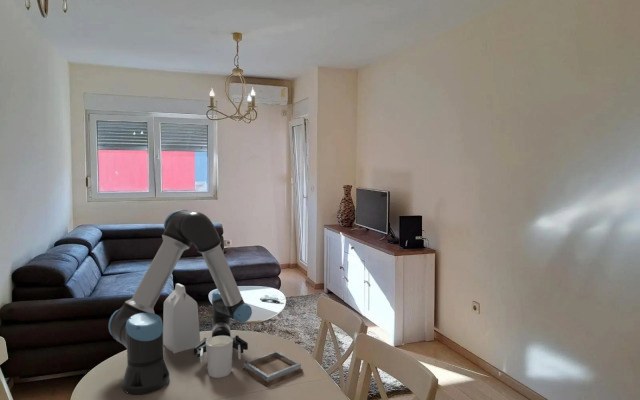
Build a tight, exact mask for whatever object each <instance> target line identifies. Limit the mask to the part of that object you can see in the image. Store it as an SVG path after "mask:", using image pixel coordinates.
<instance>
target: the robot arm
mask: <svg viewBox="0 0 640 400" xmlns="http://www.w3.org/2000/svg"><path fill="white" fill-rule="evenodd" d="M163 227H164V231H163V233H162V235H161V237H162V243H161V245H160V246H159V248H158V250H157V252H156V254H155V256H154V258H153V259H152V261H151V263H150V265H149V266H148V269H147V270H146V272H145V274H144V275H143V277H142V279H141V281H140V282H139V285H138V287H137V288H136V290H135V292H134V293H133V296H132V298H130V299H128V300H125V301H124V303H123V304H122V306H121V307H120V308H119V309H117V310H115V311H114V312H113V313H112V314H111V316H110V318H109V321H108V332H109V334H110V335H111V336H112V338H113V339H114V340H115V341H116V342H118V343H120V344H122V345H123V346H124V347H125V348H126V355H127V356H126V359H127V366H126V369H125V373H124V375H123V379H122V390H123V389H124V390H123V391H124V392H125V391H126V392H125V393H127V392H128V393H127V394H129V393H131V394H130V395H144V394H150V393H153V392H156V391H158V390H161V389H163V388H164V387H165V386H167V385H168V384H169V382H170V371H169V369H168V366H167V363H166V362H165V359H164V345H163V320H162V319H163V318H162V317H161V316H160V315H158V314H156V313H155V310H154V307H155V306H156V303H157V301H158V300H159V298H160V296H161V294H162V292H163V290H164V289H165V287H166V284H167V283H168V281H169V279H170V277H171V275H172V274H173V272H174V269H175V267H176V265H177V264H178V262H179V260H180V258H181V256H182V254H183V253H184V251H187V250H189V249H190V248H191V246H192V245H194V247H195V249H196V251H197V253H200V254H201V255H202V258H203V259H204V262H205V264H206V266H207V268H208V270H209V271H208V272H209V273H210V275H211V277H212V280H213V281H214V284H215V287H216V289H217V290H215V291H213V292H212V295H211V297H212V299H211V306H212V312H211V313H212V331H211V337H215V336H229V337H231V338H233V349H235V350H237V353H238V360H241V359H242V357H241V356H242V354H244V351H247V350H249V348H248V347H249V345H248V344H249V343H248V342H247V341H245V340H244V339H242V338H241V337H240V336H239V335H237V334H235V336H234V337H232V336H231V335H232V333H231V320H233V321H235V322H238V323H246V322H248V321H249V320H250V318H251V317H252V313H253V309H252V307H251V305H249V304H248V303H245V301H244V299H243V296H242V294H241V291H240V290H239V287H238V285H237V282H236V280H235V278H234V275H233V273H232V270H231V268H230V266H229V264H228V260H227V259H226V256H225V253H224V251H223V249H222V247H221V244H222V240H221V237H220V235H219V233H218V231H217V229H216V227H215V225H214V224H213V222H212V220H211V219H210V217H208V216H207V215H206V214H204V213H203V212H199V211H192V210H188V209H179V210H174V211H173V212H171V213H170V214H168V215H167V217H166V218H165V221H164V223H163ZM206 340H208V339H207V338H206V337H203V339H202V340H200V343H199V344H197V345H196V346H195V347H193V348H192V350H193V351H192V352H193V353H192V354H193V355H195V356H196V355H197V358H199V363H200V364H203V359H204V353H207V352H206Z"/></svg>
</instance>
